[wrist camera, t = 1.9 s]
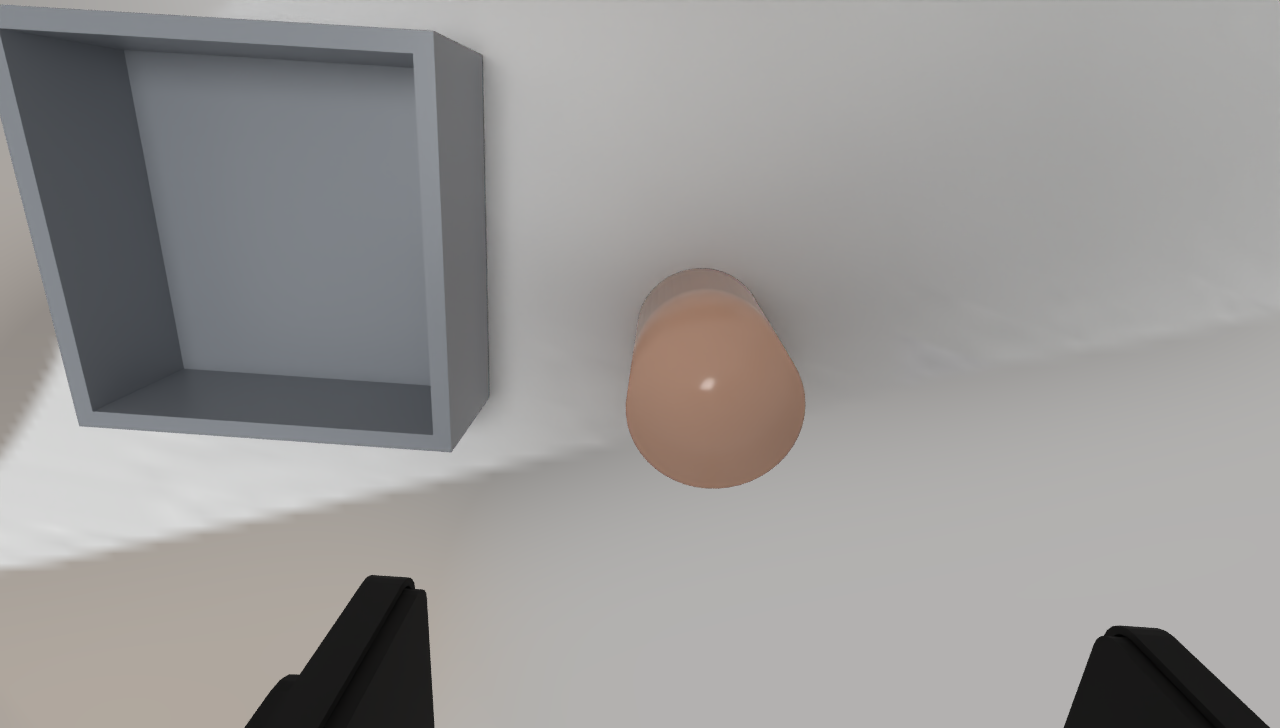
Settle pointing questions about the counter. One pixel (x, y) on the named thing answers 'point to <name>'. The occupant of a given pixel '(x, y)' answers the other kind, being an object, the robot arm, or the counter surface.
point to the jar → (711, 383)
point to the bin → (255, 222)
